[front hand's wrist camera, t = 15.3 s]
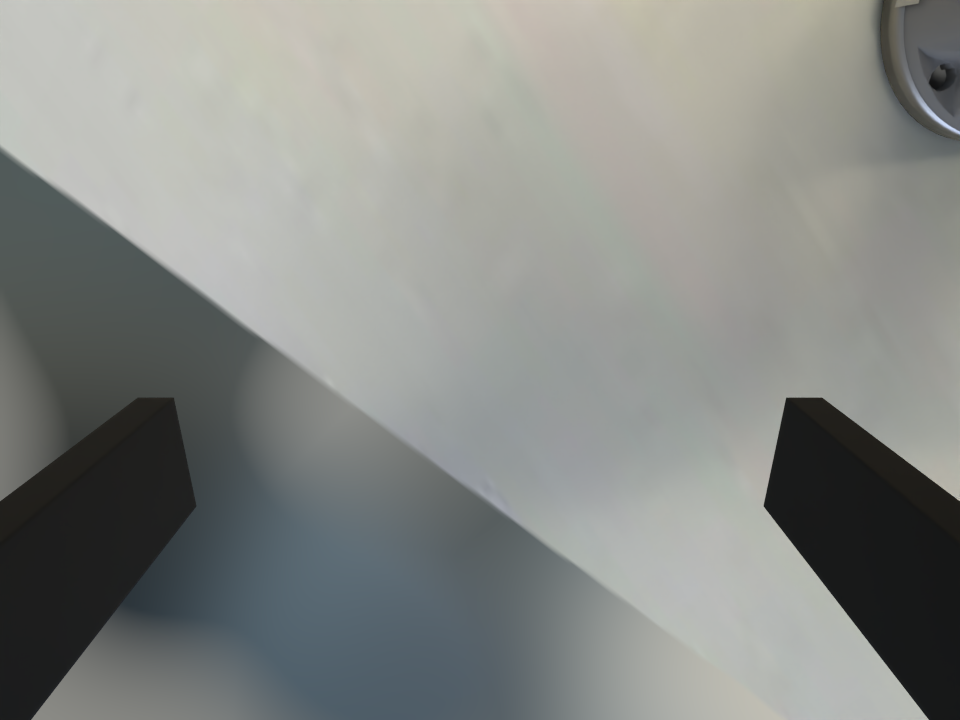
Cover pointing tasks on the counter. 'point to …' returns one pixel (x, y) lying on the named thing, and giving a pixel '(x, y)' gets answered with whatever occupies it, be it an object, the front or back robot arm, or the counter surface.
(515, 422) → the counter surface
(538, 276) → the counter surface
